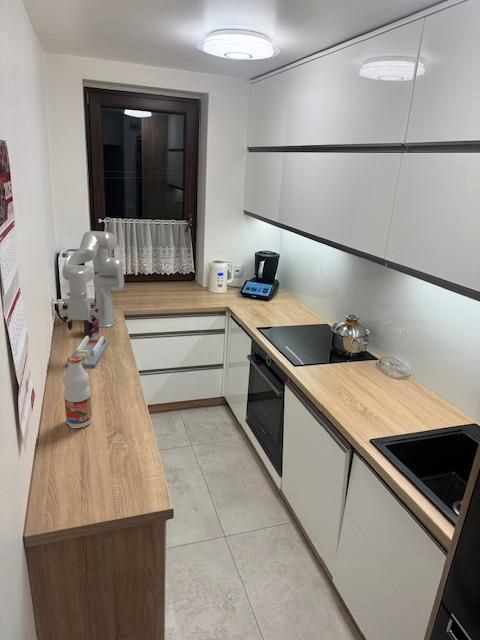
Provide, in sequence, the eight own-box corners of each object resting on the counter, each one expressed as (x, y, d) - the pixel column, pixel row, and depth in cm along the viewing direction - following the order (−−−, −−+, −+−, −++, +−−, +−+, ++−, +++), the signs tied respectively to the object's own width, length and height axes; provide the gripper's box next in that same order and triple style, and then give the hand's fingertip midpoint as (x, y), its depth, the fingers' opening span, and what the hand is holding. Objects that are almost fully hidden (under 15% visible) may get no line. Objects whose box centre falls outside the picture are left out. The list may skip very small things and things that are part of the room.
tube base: (84, 341, 241) (83, 333, 240) (109, 342, 242) (109, 334, 241) (65, 367, 212) (64, 357, 211) (95, 368, 213) (94, 358, 212)
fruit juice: (97, 419, 173) (93, 355, 164) (80, 432, 165) (75, 365, 155) (78, 413, 176) (73, 350, 167) (61, 425, 168) (54, 359, 158)
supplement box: (92, 339, 246) (90, 312, 240) (84, 337, 246) (82, 311, 241) (99, 333, 254) (98, 307, 248) (92, 332, 254) (90, 306, 249)
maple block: (79, 358, 218) (79, 349, 217) (88, 358, 218) (88, 350, 217) (76, 363, 212) (75, 355, 211) (85, 363, 213) (84, 355, 211)
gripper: (56, 297, 201) (59, 331, 207) (95, 298, 202) (97, 333, 208) (62, 292, 208) (65, 325, 214) (99, 294, 209) (101, 327, 215)
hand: (80, 329), depth 211 cm, fingers open, 9 cm apart
